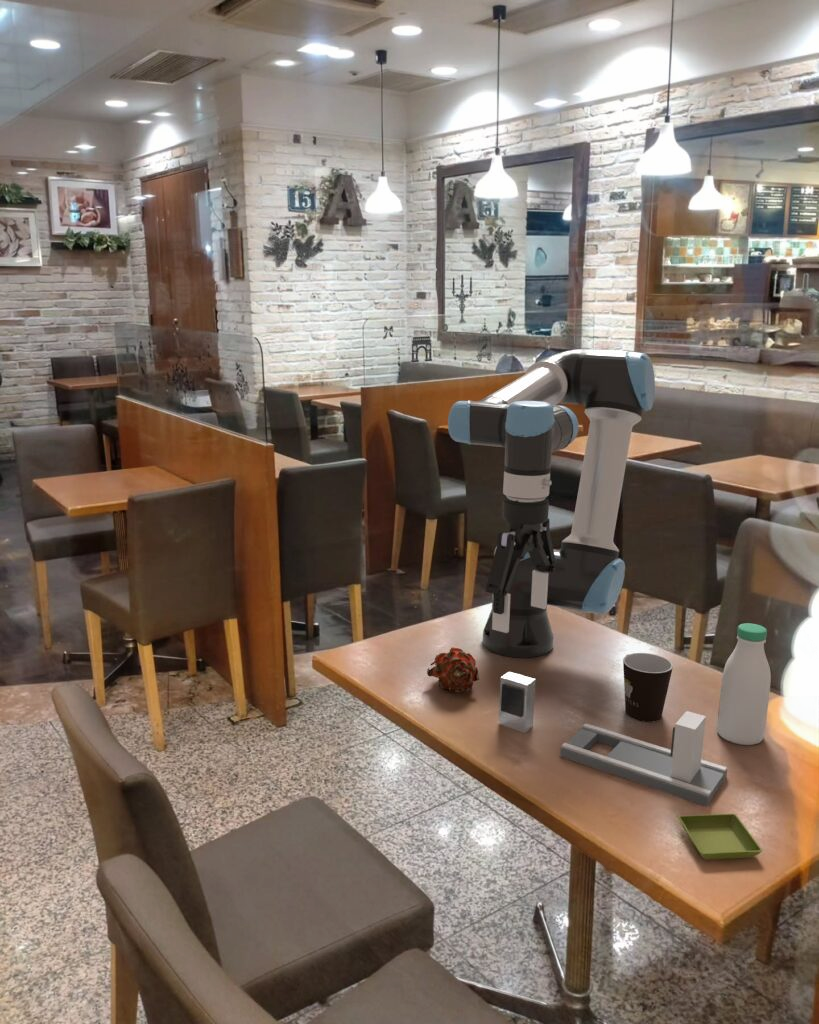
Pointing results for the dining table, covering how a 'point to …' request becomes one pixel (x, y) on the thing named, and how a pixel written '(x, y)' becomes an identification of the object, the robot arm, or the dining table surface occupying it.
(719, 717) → the milk bottle
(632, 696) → the coffee mug
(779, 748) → the dining table surface
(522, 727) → the block
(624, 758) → the rail
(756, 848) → the green square tray
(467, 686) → the dragon fruit
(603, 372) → the robot arm
